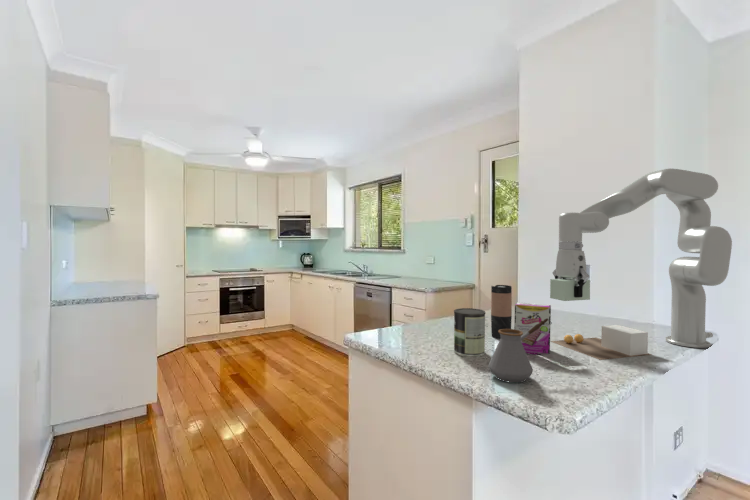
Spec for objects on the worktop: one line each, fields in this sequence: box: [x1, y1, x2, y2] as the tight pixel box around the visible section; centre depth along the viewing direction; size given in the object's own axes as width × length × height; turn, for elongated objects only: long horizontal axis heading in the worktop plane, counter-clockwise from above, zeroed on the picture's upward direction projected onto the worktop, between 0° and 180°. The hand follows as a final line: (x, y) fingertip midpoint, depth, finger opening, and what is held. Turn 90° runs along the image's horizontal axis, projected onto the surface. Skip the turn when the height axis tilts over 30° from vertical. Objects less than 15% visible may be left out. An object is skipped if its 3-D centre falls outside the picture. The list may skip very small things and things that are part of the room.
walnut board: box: [550, 337, 653, 361], centre depth 128 cm, size 20×22×1 cm
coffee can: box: [453, 307, 486, 358], centre depth 126 cm, size 10×10×14 cm
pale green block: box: [549, 278, 591, 302], centre depth 136 cm, size 11×7×7 cm, turn 106°
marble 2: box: [573, 333, 585, 343], centre depth 134 cm, size 3×3×3 cm
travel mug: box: [490, 284, 513, 340], centre depth 146 cm, size 8×8×20 cm
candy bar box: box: [513, 301, 552, 357], centre depth 125 cm, size 11×5×16 cm, turn 65°
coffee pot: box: [488, 318, 553, 383], centre depth 105 cm, size 21×12×15 cm, turn 117°
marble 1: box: [563, 334, 574, 343], centre depth 133 cm, size 3×3×3 cm
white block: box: [600, 324, 649, 356], centre depth 125 cm, size 11×7×7 cm, turn 15°
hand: (569, 295), depth 136 cm, fingers closed on pale green block, 7 cm apart
